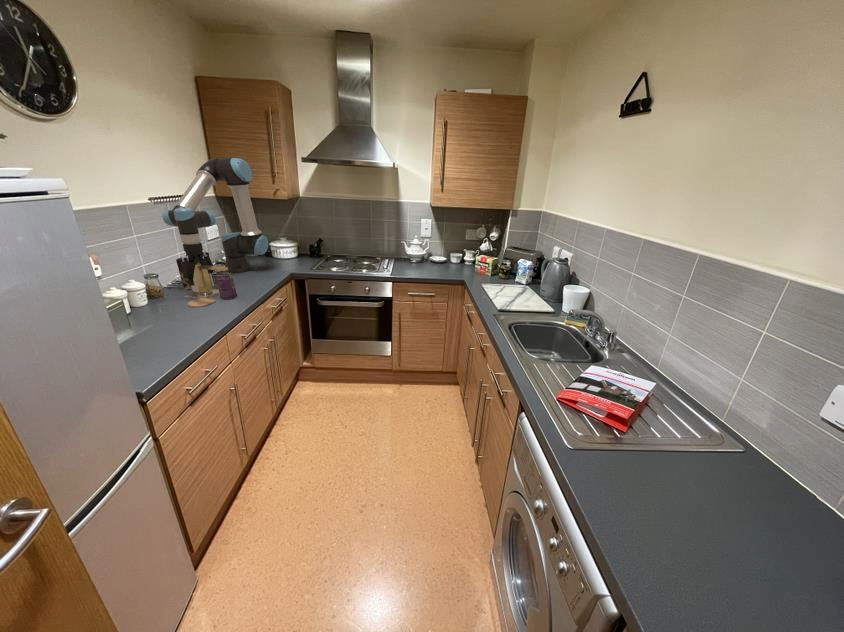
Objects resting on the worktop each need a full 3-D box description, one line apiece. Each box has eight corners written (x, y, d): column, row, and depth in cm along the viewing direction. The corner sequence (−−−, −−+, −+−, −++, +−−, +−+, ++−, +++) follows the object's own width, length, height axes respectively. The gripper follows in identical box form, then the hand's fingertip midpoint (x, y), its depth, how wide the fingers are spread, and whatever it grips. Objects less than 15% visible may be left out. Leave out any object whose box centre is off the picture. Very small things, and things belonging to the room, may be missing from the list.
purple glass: (233, 294, 163) (228, 271, 158) (239, 297, 159) (234, 273, 154) (218, 297, 158) (212, 274, 153) (224, 301, 154) (218, 276, 149)
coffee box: (183, 290, 167) (174, 259, 161) (188, 286, 173) (180, 256, 167) (203, 289, 170) (195, 258, 163) (207, 285, 175) (200, 256, 169)
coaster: (202, 298, 157) (201, 296, 156) (221, 300, 155) (220, 298, 154) (181, 306, 147) (181, 304, 147) (201, 308, 145) (201, 306, 144)
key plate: (205, 290, 168) (204, 287, 167) (224, 292, 166) (224, 289, 165) (184, 297, 157) (184, 294, 157) (205, 299, 155) (204, 297, 154)
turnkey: (201, 290, 163) (194, 264, 157) (234, 294, 159) (228, 267, 153) (196, 292, 160) (189, 265, 155) (229, 295, 156) (223, 268, 151)
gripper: (204, 238, 161) (214, 281, 170) (163, 246, 142) (178, 294, 151) (216, 239, 160) (226, 282, 169) (177, 247, 141) (191, 296, 150)
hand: (203, 288), depth 160 cm, fingers open, 9 cm apart
